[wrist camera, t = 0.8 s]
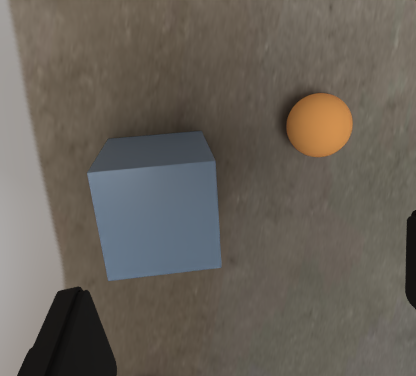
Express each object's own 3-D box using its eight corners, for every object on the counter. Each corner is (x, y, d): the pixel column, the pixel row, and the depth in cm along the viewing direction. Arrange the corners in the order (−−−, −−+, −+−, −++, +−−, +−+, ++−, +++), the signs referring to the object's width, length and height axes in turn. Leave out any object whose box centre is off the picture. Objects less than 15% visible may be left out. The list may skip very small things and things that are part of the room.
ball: (320, 154, 32) (347, 172, 28) (270, 139, 31) (288, 154, 26) (344, 100, 31) (376, 109, 26) (292, 81, 30) (315, 87, 25)
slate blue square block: (207, 213, 33) (221, 267, 25) (122, 222, 32) (108, 281, 24) (201, 130, 30) (215, 160, 22) (108, 138, 30) (87, 172, 21)
